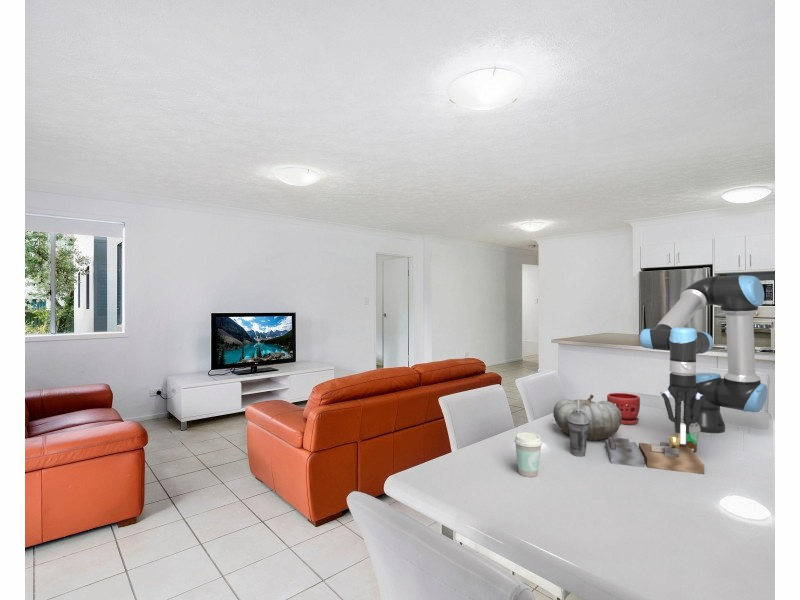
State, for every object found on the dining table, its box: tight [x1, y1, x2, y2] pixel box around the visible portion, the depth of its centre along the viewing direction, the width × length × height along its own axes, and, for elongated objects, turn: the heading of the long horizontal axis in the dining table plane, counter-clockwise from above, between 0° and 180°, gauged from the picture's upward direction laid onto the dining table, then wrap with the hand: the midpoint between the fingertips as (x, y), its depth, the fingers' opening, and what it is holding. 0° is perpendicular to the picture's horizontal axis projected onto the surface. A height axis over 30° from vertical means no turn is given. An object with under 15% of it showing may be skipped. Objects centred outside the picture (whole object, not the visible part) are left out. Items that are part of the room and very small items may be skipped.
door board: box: [605, 436, 705, 475], centre depth 151 cm, size 27×16×5 cm, turn 70°
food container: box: [673, 417, 702, 454], centre depth 161 cm, size 12×6×10 cm, turn 168°
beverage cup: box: [568, 399, 589, 458], centre depth 156 cm, size 7×7×20 cm
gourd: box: [552, 394, 622, 442], centre depth 176 cm, size 25×25×17 cm
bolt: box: [650, 434, 680, 452], centre depth 150 cm, size 8×3×6 cm, turn 70°
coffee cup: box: [513, 432, 543, 478], centre depth 140 cm, size 8×8×12 cm
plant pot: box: [606, 392, 641, 425], centre depth 195 cm, size 13×13×12 cm
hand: (681, 442), depth 148 cm, fingers closed
